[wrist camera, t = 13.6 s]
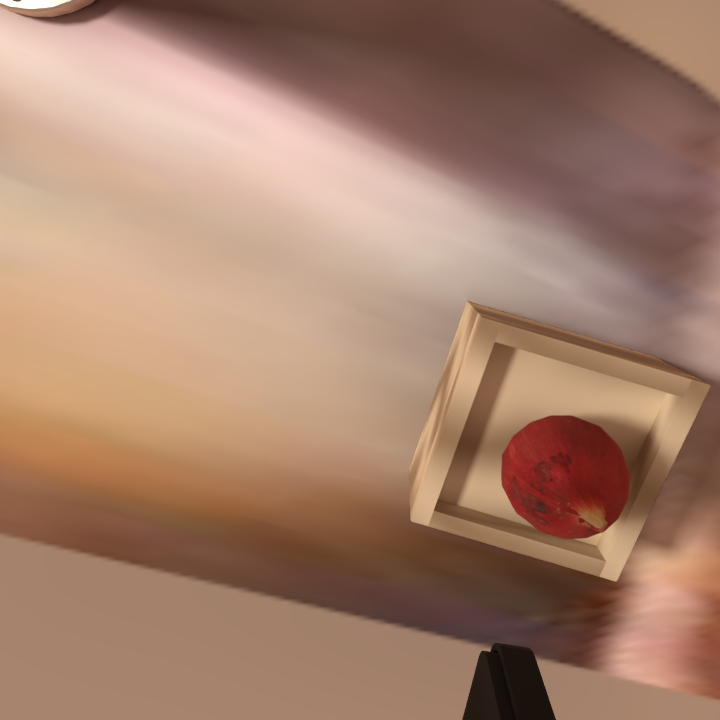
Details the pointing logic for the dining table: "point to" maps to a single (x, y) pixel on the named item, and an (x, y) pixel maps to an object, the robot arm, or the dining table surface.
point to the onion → (565, 477)
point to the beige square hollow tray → (535, 401)
